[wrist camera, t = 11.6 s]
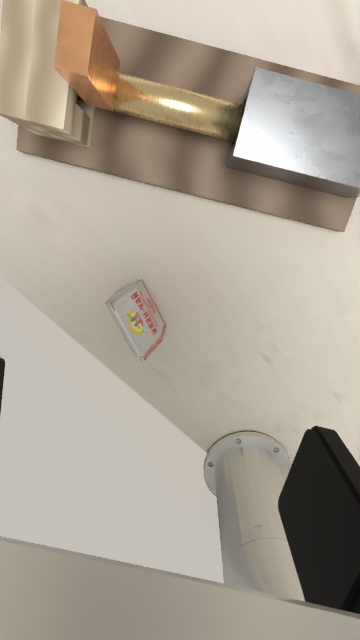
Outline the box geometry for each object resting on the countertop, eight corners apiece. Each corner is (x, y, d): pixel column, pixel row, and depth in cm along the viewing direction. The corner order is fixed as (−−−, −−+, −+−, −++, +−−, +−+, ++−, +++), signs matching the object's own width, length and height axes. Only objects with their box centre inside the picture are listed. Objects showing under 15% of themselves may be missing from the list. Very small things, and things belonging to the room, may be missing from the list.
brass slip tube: (280, 116, 34) (320, 68, 23) (268, 158, 35) (301, 131, 24) (65, 60, 33) (5, -16, 23) (59, 105, 34) (0, 53, 24)
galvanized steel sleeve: (371, 129, 36) (413, 108, 29) (347, 198, 38) (380, 193, 31) (243, 96, 35) (255, 67, 28) (225, 167, 37) (232, 155, 30)
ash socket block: (105, 42, 34) (80, -9, 27) (90, 148, 37) (63, 129, 29) (47, 27, 34) (4, -30, 26) (36, 134, 37) (-5, 112, 29)
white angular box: (141, 336, 45) (127, 368, 35) (116, 291, 43) (94, 312, 34) (165, 325, 44) (158, 354, 35) (141, 279, 43) (127, 296, 33)
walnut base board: (386, 99, 36) (394, 94, 35) (338, 231, 40) (344, 231, 39) (36, 7, 35) (29, -2, 33) (22, 152, 39) (16, 149, 37)
